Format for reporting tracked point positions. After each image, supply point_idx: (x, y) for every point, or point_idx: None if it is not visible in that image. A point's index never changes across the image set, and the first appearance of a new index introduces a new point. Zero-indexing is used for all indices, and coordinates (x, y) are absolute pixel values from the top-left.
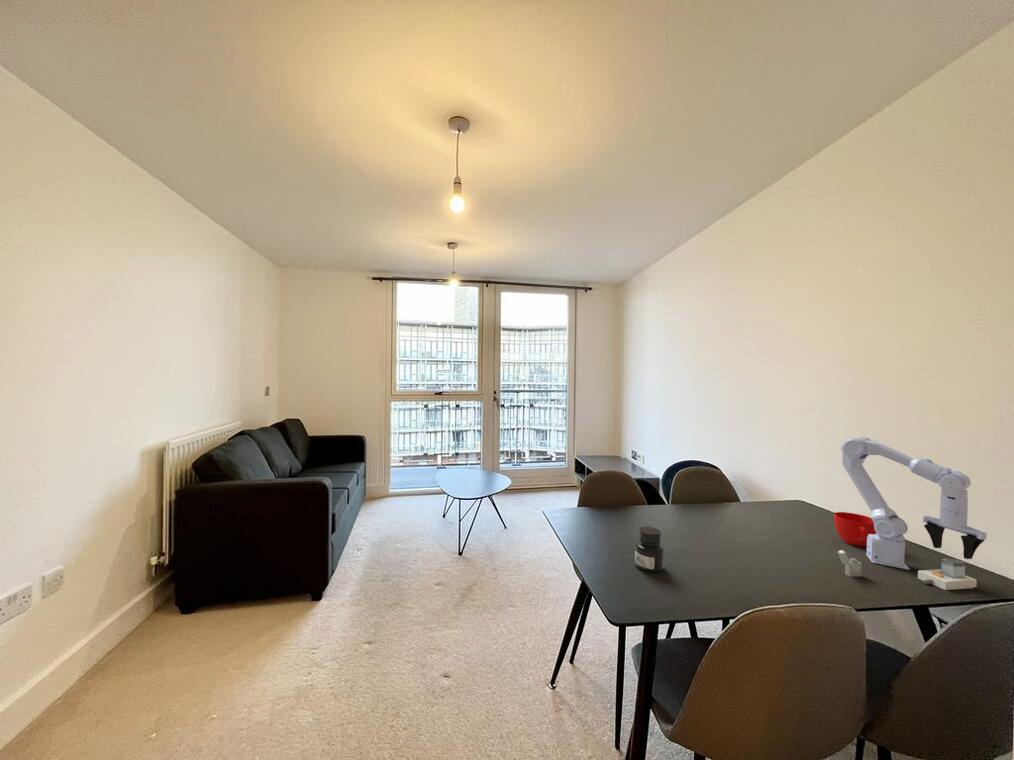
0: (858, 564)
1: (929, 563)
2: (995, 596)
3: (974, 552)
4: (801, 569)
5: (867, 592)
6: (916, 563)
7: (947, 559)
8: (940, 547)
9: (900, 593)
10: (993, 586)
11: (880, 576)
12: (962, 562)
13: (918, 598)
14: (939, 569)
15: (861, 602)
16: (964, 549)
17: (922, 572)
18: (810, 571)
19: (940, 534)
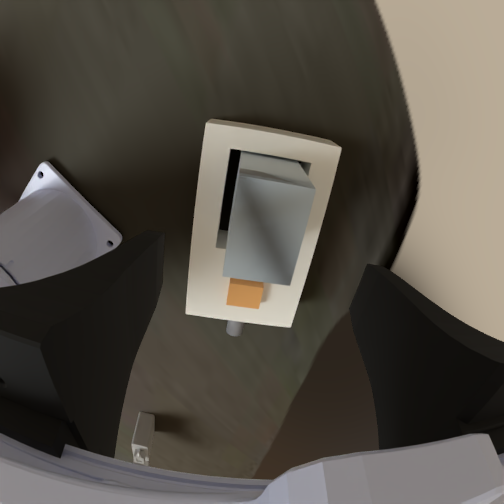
0: (148, 448)
1: (90, 28)
2: (395, 171)
3: (416, 292)
4: (120, 458)
5: (224, 456)
6: (73, 101)
7: (241, 251)
8: (163, 241)
9: (249, 422)
10: (351, 34)
11: (159, 381)
12: (308, 209)
13: (281, 413)
14: (198, 190)
15: (248, 477)
16: (373, 374)
17: (203, 316)
18: (129, 455)
19: (114, 320)
